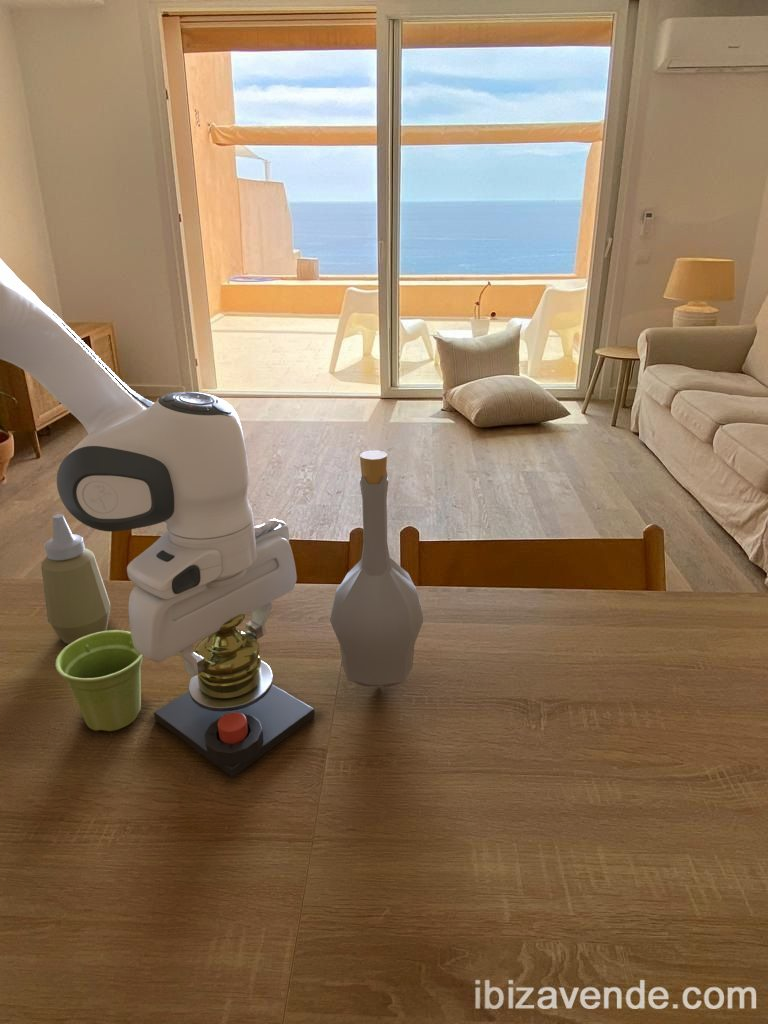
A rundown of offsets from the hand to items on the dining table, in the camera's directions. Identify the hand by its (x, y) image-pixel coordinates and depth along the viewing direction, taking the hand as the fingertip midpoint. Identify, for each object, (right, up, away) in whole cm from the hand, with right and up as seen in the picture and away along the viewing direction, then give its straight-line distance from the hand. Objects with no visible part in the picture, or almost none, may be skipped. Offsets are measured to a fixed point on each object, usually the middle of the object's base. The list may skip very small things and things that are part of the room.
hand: (227, 653), depth 79 cm
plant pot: (-14, -8, +2) cm, 16 cm away
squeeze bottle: (-24, -1, +17) cm, 29 cm away
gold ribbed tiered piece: (0, -4, +2) cm, 4 cm away
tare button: (+2, -8, -5) cm, 9 cm away
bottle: (+17, -5, +6) cm, 19 cm away
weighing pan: (0, -4, +2) cm, 4 cm away
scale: (+1, -8, +1) cm, 8 cm away
